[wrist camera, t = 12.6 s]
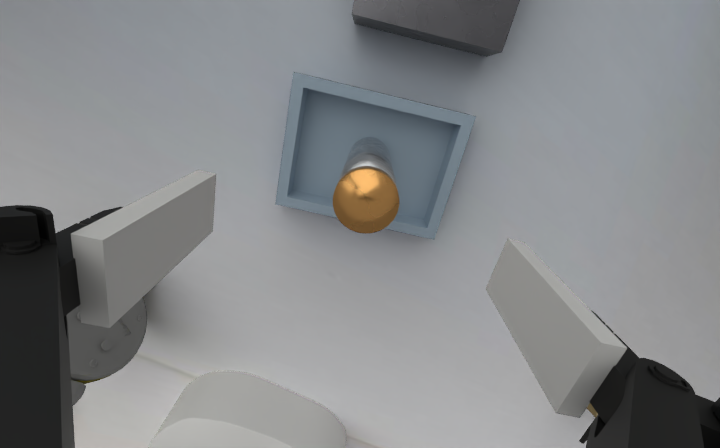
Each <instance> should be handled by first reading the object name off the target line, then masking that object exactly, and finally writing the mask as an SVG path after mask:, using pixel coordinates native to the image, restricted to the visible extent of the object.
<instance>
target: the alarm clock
mask: <svg viewBox="0 0 720 448" xmlns="http://www.w3.org/2000/svg"><path fill="white" fill-rule="evenodd" d="M67 321H68V333H69V352H70V370H71V388H72V406H73V405H74V404H75V403H76V402H77V401H78V400H79V399H80V398H81V397H82V395H83V393H84V391H85V388H86V386H85V385H84V384H86V383H90V382H93V381H97V380H100V379H103V378H105V377H108V376H110V375H112V374H114V373H115V372H117V371H118V370H120V369H122V368H123V367H124V366H125V365H126V364H127V363H128V362H129V361H131V359H132V358H133V357H134V355H135V354H136V353H137V351H138V349H139V347H140V345H141V343H142V342H143V338H144V335H145V332H146V326H147V312H146V307H145V303H144V300H143V298H141V299H140V300H139V301H138V302H137V303H136V304H135V305H134V306H133V307H132V308H131V309H130V310H128V311H127V312H126V313H125V314H124V315H123V316H122V317H121V318H120V319H119V320H118V321H117V322H116V323H115V324H114V325H112V326H111V327H110V328H106V327H101V326H95V325H90V324H85V323H81V317H80V309H79V306H78V307H76V308H75V309H74V310H72V311H71V312H70V313H68V314H67Z"/></svg>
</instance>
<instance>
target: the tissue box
mask: <svg viewBox="0 0 720 448" xmlns="http://www.w3.org/2000/svg"><path fill="white" fill-rule="evenodd" d="M148 448H346V432H345V428H344V426H343V425H342V423H341V422H340V421H339V419H338V418H337V417H336V416H335V415H334V414H333V413H332V412H331V411H330V410H328V409H327V408H326V407H324V406H322V405H321V404H319V403H317V402H315V401H313V400H311V399H308V398H306V397H304V396H302V395H300V394H297V393H295V392H293V391H291V390H288V389H286V388H284V387H282V386H279V385H277V384H275V383H273V382H271V381H268V380H266V379H264V378H261V377H259V376H256V375H253V374H249V373H245V372H240V371H213V372H209V373H207V374H204V375H202V376H200V377H198V378H196V379H195V380H193V381H192V382H191V383H189V384H188V386H187V387H186V388H185V389H184V391H183V392H182V394H181V395H180V397H179V399H178V400H177V402H176V403H175V405H174V406H173V408H172V410H171V411H170V413H169V414H168V416H167V418H166V419H165V421H164V422H163V424H162V425H161V427H160V429H159V430H158V432H157V433H156V435H155V436H154V438H153V440H152V441H151V443H150V445H149V447H148Z"/></svg>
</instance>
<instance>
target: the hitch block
mask: <svg viewBox="0 0 720 448" xmlns="http://www.w3.org/2000/svg"><path fill="white" fill-rule="evenodd" d="M519 1H520V0H354V5H353V10H352V16H353V20H354V23H355V24H359V25H363V26H367V27H371V28H375V29H379V30H383V31H387V32H390V33H394V34H398V35H402V36H406V37H410V38H414V39H418V40H422V41H426V42H430V43H434V44H438V45H442V46H446V47H450V48H454V49H458V50H462V51H466V52H470V53H474V54H478V55H482V56H486V57H487V56H490V55H494V54H497V53H501V52H502V50H503V48H504V45H505V42H506V39H507V36H508V33H509V30H510V27H511V24H512V21H513V19H514V16H515V13H516V10H517V7H518V4H519Z"/></svg>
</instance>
